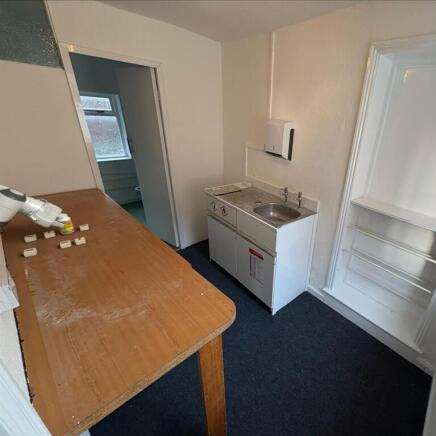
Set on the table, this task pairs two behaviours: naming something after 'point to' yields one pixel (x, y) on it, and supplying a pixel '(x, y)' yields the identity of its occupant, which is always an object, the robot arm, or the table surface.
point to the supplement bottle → (68, 224)
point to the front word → (63, 245)
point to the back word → (52, 233)
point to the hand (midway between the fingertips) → (66, 222)
